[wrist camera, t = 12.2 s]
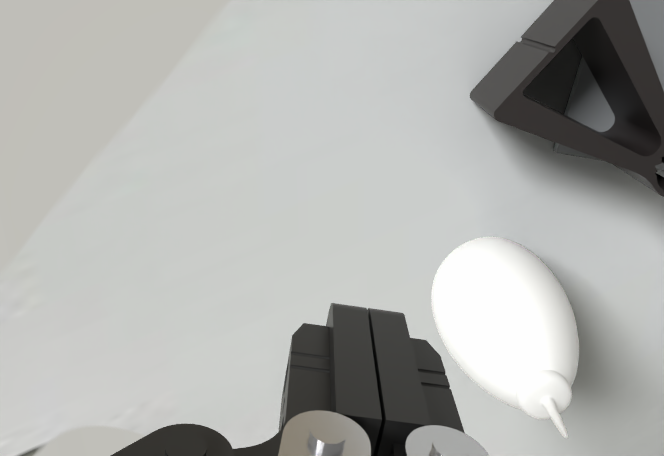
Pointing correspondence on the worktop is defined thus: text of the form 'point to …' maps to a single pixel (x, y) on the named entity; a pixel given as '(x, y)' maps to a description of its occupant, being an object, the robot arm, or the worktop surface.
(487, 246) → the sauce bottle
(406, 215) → the worktop surface
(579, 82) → the rubber mat
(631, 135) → the phone stand
